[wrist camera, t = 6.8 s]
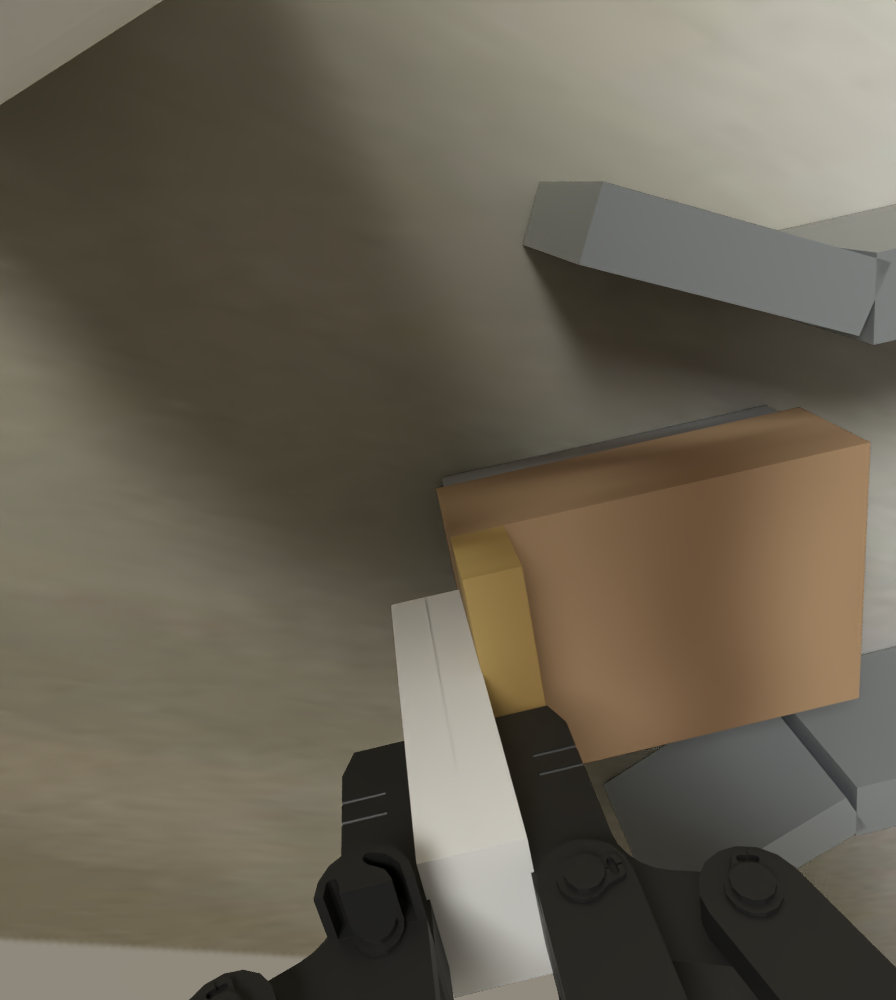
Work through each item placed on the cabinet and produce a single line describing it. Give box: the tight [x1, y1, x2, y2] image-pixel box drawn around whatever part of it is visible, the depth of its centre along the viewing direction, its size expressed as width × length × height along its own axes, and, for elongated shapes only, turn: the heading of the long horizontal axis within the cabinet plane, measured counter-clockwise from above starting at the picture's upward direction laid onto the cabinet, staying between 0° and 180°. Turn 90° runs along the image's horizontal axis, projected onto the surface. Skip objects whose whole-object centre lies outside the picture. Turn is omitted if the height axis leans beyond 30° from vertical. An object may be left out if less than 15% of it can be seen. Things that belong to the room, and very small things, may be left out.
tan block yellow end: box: [436, 405, 870, 764], centre depth 16 cm, size 8×6×5 cm
